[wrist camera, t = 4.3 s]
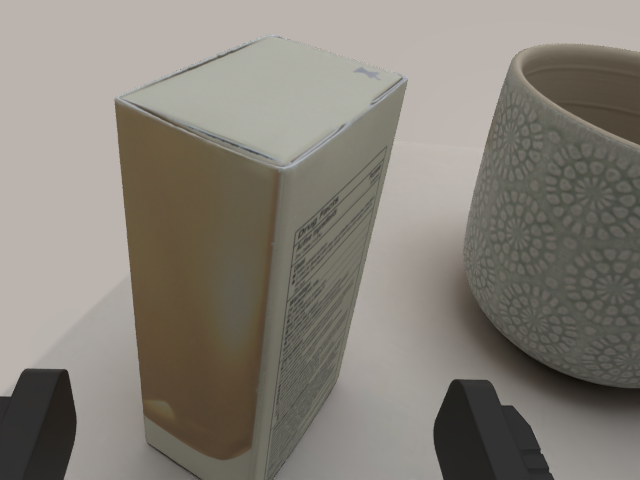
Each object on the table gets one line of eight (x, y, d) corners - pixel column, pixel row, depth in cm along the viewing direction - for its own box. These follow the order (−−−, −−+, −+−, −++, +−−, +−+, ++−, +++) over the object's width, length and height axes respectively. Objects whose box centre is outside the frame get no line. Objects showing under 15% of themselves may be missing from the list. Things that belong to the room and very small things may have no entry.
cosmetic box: (247, 332, 23) (275, 26, 16) (341, 381, 22) (417, 70, 15) (134, 449, 18) (100, 86, 11) (245, 521, 17) (289, 161, 10)
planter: (711, 308, 29) (859, 109, 22) (707, 498, 20) (954, 254, 13) (481, 214, 33) (551, 25, 27) (391, 335, 24) (465, 91, 18)
